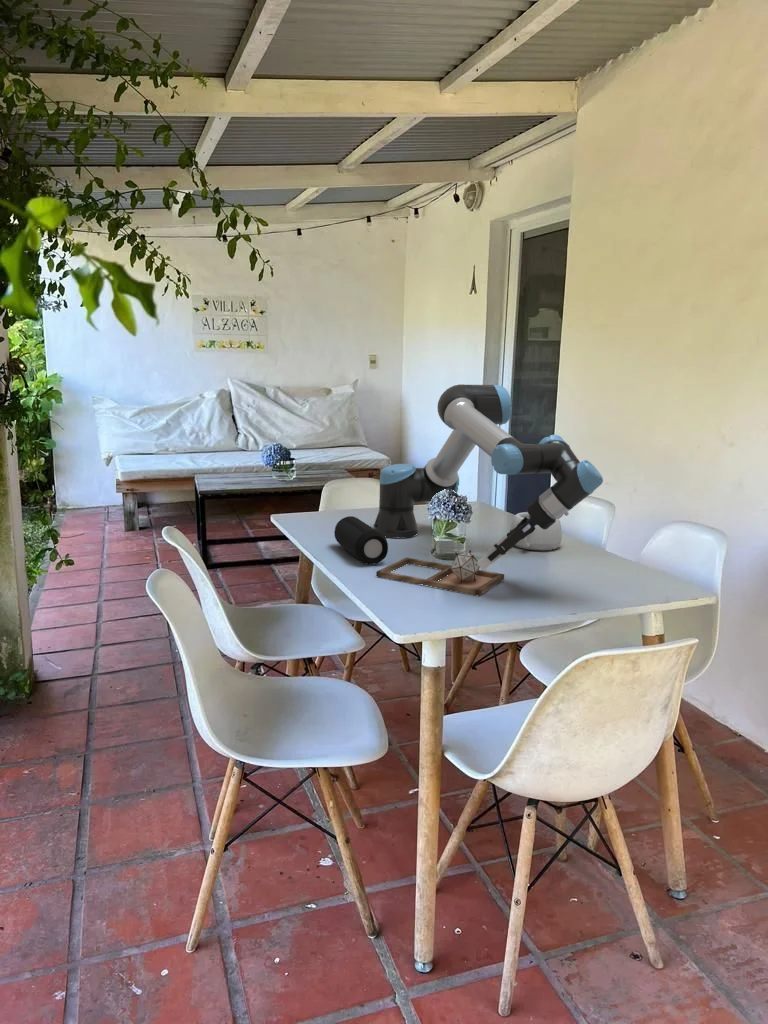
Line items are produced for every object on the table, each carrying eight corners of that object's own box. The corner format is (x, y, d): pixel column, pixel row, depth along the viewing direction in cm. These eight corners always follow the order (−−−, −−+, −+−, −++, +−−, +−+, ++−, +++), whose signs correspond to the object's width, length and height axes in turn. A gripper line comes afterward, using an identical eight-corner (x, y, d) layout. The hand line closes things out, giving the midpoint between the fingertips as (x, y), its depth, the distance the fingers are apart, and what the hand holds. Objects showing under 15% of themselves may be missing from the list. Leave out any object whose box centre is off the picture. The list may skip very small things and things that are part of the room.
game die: (470, 595, 202) (487, 572, 195) (441, 584, 201) (457, 560, 194) (473, 572, 208) (489, 549, 202) (445, 560, 207) (460, 537, 201)
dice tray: (376, 576, 204) (376, 571, 204) (406, 562, 220) (406, 557, 219) (479, 596, 190) (479, 590, 190) (503, 579, 206) (504, 574, 205)
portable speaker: (390, 565, 216) (391, 531, 214) (357, 568, 213) (358, 533, 211) (361, 544, 239) (362, 514, 237) (331, 546, 236) (332, 515, 234)
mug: (517, 537, 257) (519, 508, 255) (566, 544, 249) (569, 514, 247) (497, 550, 238) (499, 519, 236) (549, 558, 230) (551, 526, 228)
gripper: (551, 530, 178) (485, 583, 186) (562, 511, 202) (503, 559, 209) (530, 506, 179) (465, 560, 187) (543, 490, 202) (485, 539, 210)
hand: (485, 560), depth 198 cm, fingers open, 13 cm apart
